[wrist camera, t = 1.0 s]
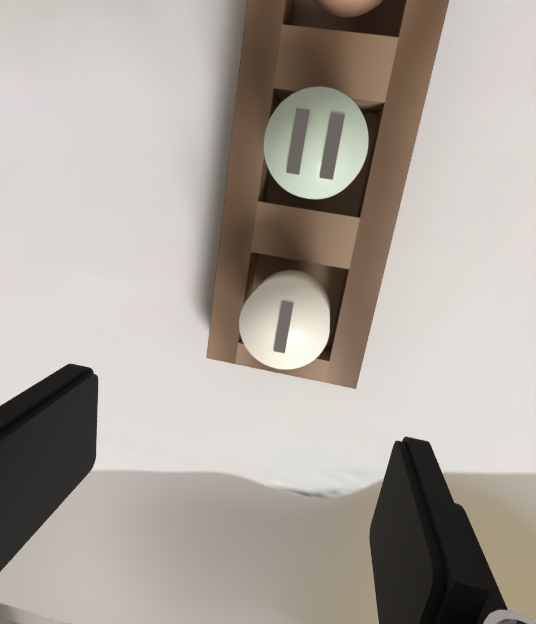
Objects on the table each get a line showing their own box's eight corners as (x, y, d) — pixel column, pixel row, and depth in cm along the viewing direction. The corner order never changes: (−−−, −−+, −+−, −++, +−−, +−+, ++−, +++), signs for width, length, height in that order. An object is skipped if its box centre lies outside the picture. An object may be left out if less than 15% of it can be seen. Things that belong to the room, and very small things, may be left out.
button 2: (370, 113, 21) (379, 92, 17) (351, 205, 22) (356, 206, 19) (282, 101, 22) (271, 79, 18) (269, 192, 23) (256, 190, 19)
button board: (463, -102, 20) (485, -151, 18) (353, 369, 28) (355, 388, 25) (274, -116, 22) (266, -164, 19) (218, 342, 29) (206, 357, 26)
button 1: (337, 277, 24) (338, 292, 20) (321, 350, 25) (320, 378, 21) (259, 263, 24) (244, 275, 20) (248, 336, 26) (233, 360, 22)
